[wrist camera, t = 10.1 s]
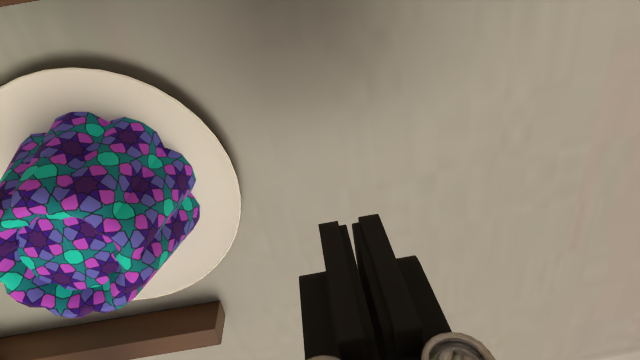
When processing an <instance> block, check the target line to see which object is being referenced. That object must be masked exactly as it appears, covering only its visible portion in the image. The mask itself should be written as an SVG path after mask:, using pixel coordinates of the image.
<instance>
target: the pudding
mask: <svg viewBox="0 0 640 360" xmlns="http://www.w3.org/2000/svg"><path fill="white" fill-rule="evenodd" d="M240 217H241V195H240V190H239V185H238V180H237V176H236V173H235V171H234V168H233V166H232V163H231V161H230V158H229V156H228V155H227V153H226V152H225V150H224V148H223V147H222V145H221V144H220V142H219V140H218V139H217V137H216V136H215V135H214V134H213V133H212V132H211V130H210V129H209V128H208V127H207V126H206V125H205V124H204V123H203V121H202V120H201V119H200V118H199V117H198V116H196V115H195V114H194V113H193V112H191V111H190V110H189V109H188V108H187V107H185V106H184V105H183V104H182V103H180V102H179V101H178V100H176V99H174V98H173V97H171V96H169V95H167V94H166V93H164V92H162V91H161V90H159V89H157V88H156V87H154V86H151V85H149V84H146V83H144V82H141V81H139V80H136V79H134V78H131V77H129V76H125V75H121V74H117V73H112V72H108V71H104V70H100V69H86V68H73V67H70V68H60V69H49V70H42V71H39V72H35V73H32V74H28V75H25V76H21V77H18V78H16V79H14V80H13V81H11V82H9V83H7V84H5V85H3V86H1V87H0V282H2V283H4V285H5V288H6V291H7V294H9V295H10V296H11V297H12V298H14V299H15V300H16V301H17V302H19V303H21V304H24V305H26V306H29V307H45V308H46V309H48V310H49V311H50V312H52V313H53V314H55V315H58V316H63V317H68V318H77V317H84V316H86V315H87V314H89V313H90V312H92V311H95V312H102V313H108V312H111V311H114V310H118V309H120V308H122V307H124V306H125V305H127V304H128V303H129V302H130V301H131V300H141V299H150V298H156V297H160V296H164V295H168V294H172V293H174V292H177V291H179V290H181V289H184V288H186V287H188V286H191V285H192V284H194V283H195V282H197V281H198V280H200V279H202V278H203V277H205V276H206V275H207V274H208V273H209V272H211V271H212V270H213V269H214V268H215V267H216V266H217V265H218V264H219V263H220V262H221V260H222V259H223V258H224V256H225V255H226V253H227V252H228V251H229V249H230V247H231V245H232V243H233V241H234V238H235V236H236V234H237V230H238V225H239V221H240Z"/></svg>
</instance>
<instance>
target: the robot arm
mask: <svg viewBox="0 0 640 360" xmlns="http://www.w3.org/2000/svg"><path fill="white" fill-rule="evenodd" d="M358 219H359V223H353V224H352V229H353V237H354V244H355V252H356V259H357V264H356V261H355V257H354V253H353V249H352V245H351V241H350V238H349V234H348V230H347V226H346V225H342V226H339V225H338V221H334V222H329V223H323V224H319V231H320V237H321V243H322V249H323V255H324V261H325V268H326V271H325V272H320V273H314V274H309V275H303V276H299V285H300V298H301V311H302V324H303V337H304V350H305V360H495V358H494V357H493V356H492V354H491V353H490V351H489V350H488V349H487V348H486V347H485V346H484V345H483V344H482V343H481V342H480V341H478V340H476V339H475V338H473V337H471V336H469V335H465V334H462V333H455V332H452V331H451V329H450V327H449V325H448V323H447V320H446V318H445V316H444V314H443V312H442V310H441V307H440V305H439V303H438V301H437V299H436V297H435V295H434V292H433V290H432V288H431V286H430V284H429V282H428V279H427V277H426V275H425V273H424V271H423V269H422V266H421V264H420V262H419V260H418V258H417V257H416V256H409V257H403V258H398V259H396V258H395V255H394V253H393V250H392V247H391V245H390V242H389V240H388V237H387V235H386V232H385V230H384V227H383V225H382V222H381V219H380V217H379V215H378V214H374V215H368V216H362V217H359V218H358ZM357 267H358V268H357Z"/></svg>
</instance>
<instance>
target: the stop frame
mask: <svg viewBox="0 0 640 360" xmlns="http://www.w3.org/2000/svg"><path fill="white" fill-rule="evenodd" d="M32 1H38V0H0V7H2V6H8V5H14V4H20V3H26V2H32ZM224 321H225V314H224V311H223V308H222V305H221V303H220V301H217V302H211V303H205V304H199V305H193V306H187V307H182V308H176V309H170V310H164V311H158V312H152V313H146V314H140V315H134V316H128V317H122V318H116V319H110V320H105V321H99V322H93V323H87V324H81V325H75V326H69V327H63V328H57V329H51V330H45V331H39V332H33V333H28V334H22V335H16V336H10V337H4V338H0V360H130V359H136V358H142V357H148V356H154V355H160V354H166V353H172V352H178V351H184V350H190V349H195V348H201V347H207V346H213V345H219V344H221V340H222V334H223V327H224Z"/></svg>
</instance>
